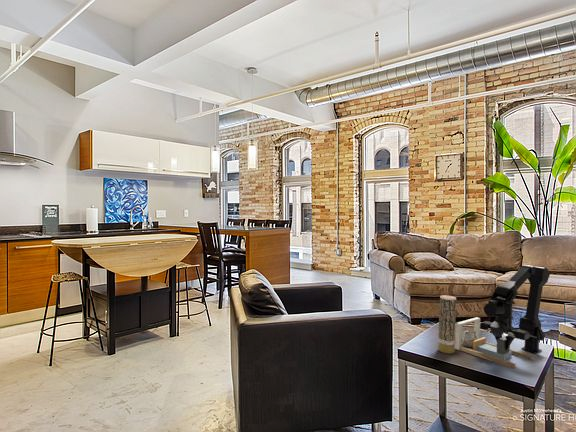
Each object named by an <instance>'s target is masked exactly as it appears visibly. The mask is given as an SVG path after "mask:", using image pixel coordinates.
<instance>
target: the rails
mask: <svg viewBox="0 0 576 432" xmlns="http://www.w3.org/2000/svg"><path fill="white" fill-rule="evenodd" d="M486 344H488V345H491V346H495V347H497V344H495V343H491V342H489V341H486ZM460 351H462V352H464V353H467V354H469V355H472V356H476V357H478V358H482V359H485V360H488V361H491V362H493V361H494V363H495V364H499V365H501V366H505V367H508V368H510V369H511V368H512V369H516V368H517V367H516V366H517V365H516V363H514V362H512V361H509V360H502V359H499V358H496V357H493V356H490V355H487V354H484V353H481V352H478V351H475V350H473V348H472V349H471V348H470V347H469V348H468V347H467V346H464V345H462V346H461V350H460ZM510 351H511V352H512V353H511V355H512V356H513V355H514V356H516V357H517V356H518V357H520V358H523V359H527V360H528V361H529V360H530V361H532V360H533V358H534V356H533V354H532V355H531V354H528V353H525V352H522V351H519V350H515V349H511V348H510Z"/></svg>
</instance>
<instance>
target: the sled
mask: <svg viewBox="0 0 576 432" xmlns="http://www.w3.org/2000/svg"><path fill="white" fill-rule="evenodd" d="M486 342H487V337H485V336H484V337H479V339H477V340H475V341H473V347H472V350H475V351H478V352H481V353H484V354H487V355H490V356H493V357H496V358H499V359H502V360H505V361H507V360H508V359H510V358H512V354H511V353H512V352H511V351H510V349H511V345H510V346H509V348H508V350H507V351H506V348H505V347H506V337H505V336H502V338H500V339H497V341H496V345H497V347H495V346H491V345H488V344H486Z"/></svg>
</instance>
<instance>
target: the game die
mask: <svg viewBox="0 0 576 432" xmlns="http://www.w3.org/2000/svg"><path fill="white" fill-rule="evenodd" d="M475 333H476V331H475V332H474V331H471V330H467V328H464V330H463V331H462V342H461V347H462V346H464V347H469V348H470V349H472V350H473V341H475V340H477V337H476V334H475Z"/></svg>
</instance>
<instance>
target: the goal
mask: <svg viewBox="0 0 576 432" xmlns="http://www.w3.org/2000/svg"><path fill="white" fill-rule="evenodd" d="M471 323H474V328H473V332H475V331H476V333H475V334H476V337H477V339H480V332H481V331H480V330H481V329H480V324H481V317H477V316H476V317H473V318H470V319H469V318H468V319H466V320H462V321H458V322H455V346H454V350H458V351H461V347H462V346H461V345H462V333H463V326H465V325H469V324H471Z"/></svg>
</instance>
